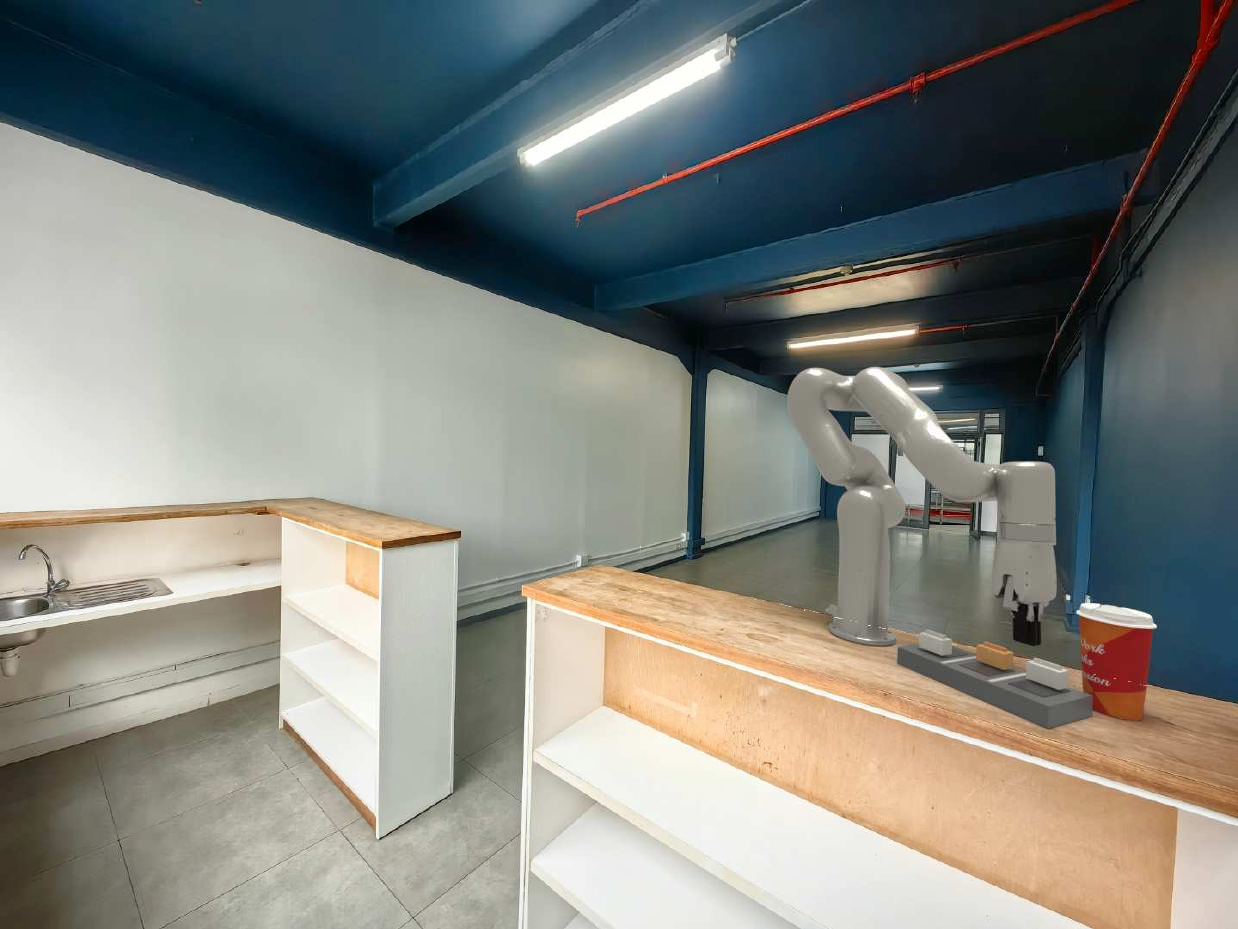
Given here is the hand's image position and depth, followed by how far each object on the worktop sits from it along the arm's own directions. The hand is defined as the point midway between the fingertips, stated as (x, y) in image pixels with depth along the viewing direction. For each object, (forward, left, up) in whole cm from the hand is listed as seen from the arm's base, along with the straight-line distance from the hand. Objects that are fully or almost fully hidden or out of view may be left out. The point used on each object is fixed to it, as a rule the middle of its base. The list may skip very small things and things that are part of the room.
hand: (1026, 642), depth 78 cm
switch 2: (-1, -7, -3) cm, 8 cm away
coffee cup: (+10, +1, -7) cm, 12 cm away
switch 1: (-8, -11, -3) cm, 14 cm away
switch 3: (+6, -7, -3) cm, 10 cm away
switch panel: (-1, -10, -7) cm, 12 cm away
